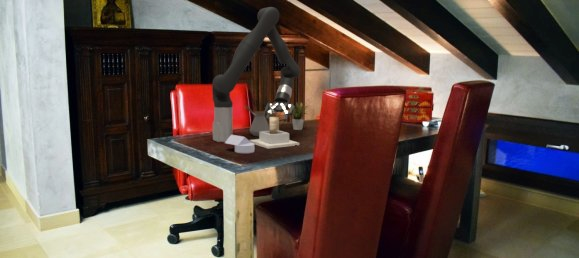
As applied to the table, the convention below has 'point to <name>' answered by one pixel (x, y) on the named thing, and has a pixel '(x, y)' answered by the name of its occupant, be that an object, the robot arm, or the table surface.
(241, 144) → the wedge on round base
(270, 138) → the socket plate
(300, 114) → the house plant
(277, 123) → the coupling plug
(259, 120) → the coffee pot
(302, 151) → the table surface
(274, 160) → the table surface
